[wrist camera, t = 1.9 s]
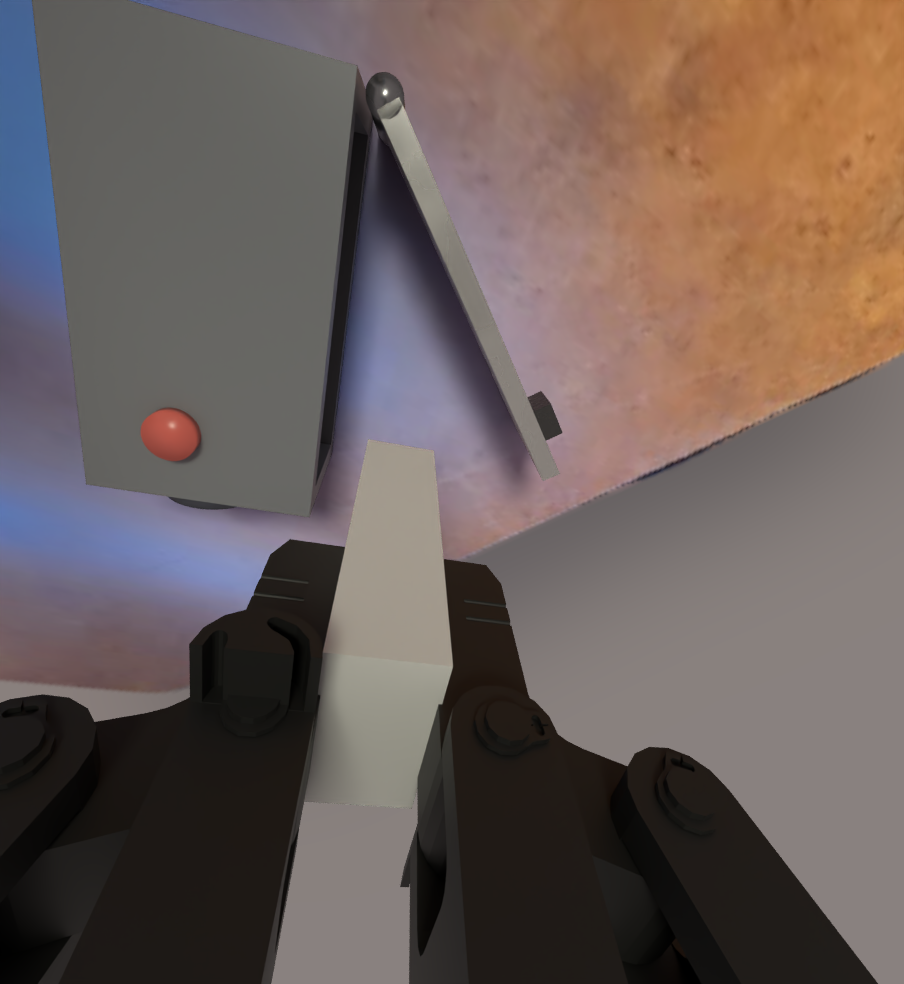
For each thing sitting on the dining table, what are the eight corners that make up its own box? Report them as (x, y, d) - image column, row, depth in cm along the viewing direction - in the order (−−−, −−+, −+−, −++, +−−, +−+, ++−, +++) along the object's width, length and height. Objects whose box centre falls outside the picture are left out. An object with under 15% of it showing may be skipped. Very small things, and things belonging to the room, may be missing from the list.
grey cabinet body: (145, 48, 20) (13, -39, 14) (373, 111, 22) (355, 60, 15) (160, 442, 28) (80, 512, 21) (329, 470, 29) (304, 543, 22)
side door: (372, 121, 22) (358, 84, 16) (415, 96, 21) (415, 50, 16) (513, 431, 29) (538, 483, 23) (547, 416, 28) (580, 464, 23)
